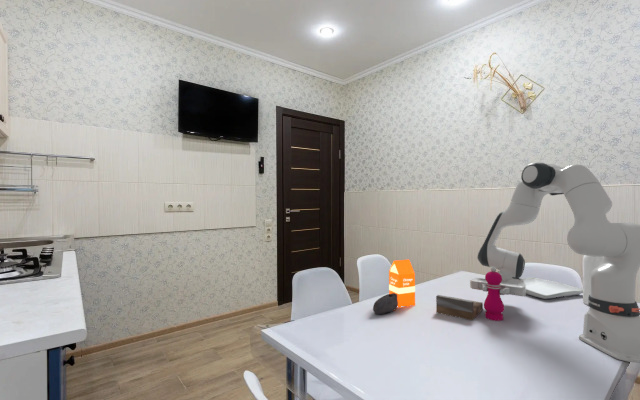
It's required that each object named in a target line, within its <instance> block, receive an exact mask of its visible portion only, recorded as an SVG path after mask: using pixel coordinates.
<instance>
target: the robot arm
mask: <svg viewBox="0 0 640 400" xmlns="http://www.w3.org/2000/svg"><path fill="white" fill-rule="evenodd" d="M520 179H521V180H520V181H519V182H518V183H517V185H516V187H515V188H514V192H513V194H512V196H511V199H510V203H509V206H508V207H507V208H506V210H504V211H501V212H500V213H498V214H497V215H496V218H495V219H494V221H493V223H492V226H491V228H490V229H489V231H488V233H487V236H486V238H485V240H484V242H483V243H482V246H481V247H480V248H479V250H478V253H477V260H478V262H479V263H480V265H482V266H483V267H488V268H495V269H496V270H498V271H497V272H498V273H499V274H500V275H501V276H502V282H501V283H500V285H501V288H500V291H499V292H500V296H507V295H508V296H509V295H510V296H511V295H512V296H516V297H527V294H526V285H525V283H524V280H523V279H521V277H522V276H523V273H524V271H525V265H526V261H525V259H524V256H523V255H522V254H521V253H520V252H516V251H514V250H513V251H512V250H510V249H509V250H508V249H504V248H502V247H499V246H496V242H497V240H498V239H499V236H500V234H501V232H502V230H503V229H504V228H506V227H513V226H521V225H522V226H525V225H528V224H531V223H532V222H534V221H535V220H536V219H537V217H538V215H539V213H540V208H541V205H542V201H543V199H544V198H545V196H546V195H550V196H558V195H563V196H564V198H565V199H566V201H567V203H568V205H569V207H570V210H571V211H572V213H573V218H574V223H573V226H572V227H570V229H569V231H568V233H567V236H566V241H567V245H568V247H569V249H571V251H572V252H573V253H575V254H577V255H582V256H584V255H586V256H592V257H603V261H602V262H601V264H600V265H599V266H598V267H596V268H595V269H593V270H592V271H591V273H590V295H589V297H588V305H587V306H588V307H589V308H588V310H587V311H586V312H585V313H584V317H583V330H582V334H579V335H578V339H579V340H581V341H582V342H584V343H586V344H588V345H589V346H591V347H593V348H595V349H597V350H599V351H601V352H603V353H605V354H607V355H609V356H610V357H611V358H612V357H613V358H614V359H616V360H620V361H624V362H630V363H635V364H640V307H639V305H638V302H637V301H636V280H637V276H638V275H637V274H638V272H639V270H640V223H639V224H638V223H633V222H611V221H609V220H608V217H607V214H608V213H609V212H610V210H611V209H612V207H613V202H612V200H611V198H610V197H609V194H608V193H607V192H606V190H605V188H604V187H603V185H602V183H601V182H600V181H599V179H598V178H597V176H596V175H595V174H594V173H593V172H592V171H591V170H590V169H589V168H588V167H587V166H585V165H583V164H571V165H567V166H566V167H563V166H560V165H556V164H550V163H544V162H540V161H539V162H531V163H528V164H527V165H526V166H525V167H524V168H523V169H522V171H521V178H520ZM469 282H470V283H469V285H470V289H472V290H477V291H478V290H479V291H482V292H487V293H488V287H487V281H486V280H485V278H483V277H481V278H480V277H475V278H471V280H469Z"/></svg>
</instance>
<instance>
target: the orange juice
mask: <svg viewBox="0 0 640 400" xmlns="http://www.w3.org/2000/svg"><path fill="white" fill-rule="evenodd" d="M415 277H416V273H415V270H414V268H413V266H412V262H411V261H410V259H402V260H401V259H399V260H397V259H396V260H393V262H392V264H391V266H390V268H389V271H388V292H389V293H388V294H392V293H395V294H397V301H398V307H397V308H399V307H400V308H402V307H401V306H407V307H411V306H410V305H413V306H416V278H415Z"/></svg>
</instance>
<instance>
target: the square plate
mask: <svg viewBox="0 0 640 400" xmlns="http://www.w3.org/2000/svg"><path fill="white" fill-rule="evenodd" d="M520 279H523V280H524V283H525V285H526V295H529V296H533V297H535V298H540V299H543V300H547V299H554V298H556V297H557V298H562V297H563V296H564V297H570V296H576V295H580V294H583V288H579V287H576V286H572V285H569V284H566V283H565V284H564V283H563V282H559V281H558V282H557V281H552V280H548V279H543V278H538V277H523V278H521V277H520ZM557 298H556V299H557Z"/></svg>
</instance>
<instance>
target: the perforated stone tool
mask: <svg viewBox="0 0 640 400" xmlns="http://www.w3.org/2000/svg"><path fill="white" fill-rule="evenodd" d="M397 306H398V301H397V294H395V293H392V294H389V293H388V294H386V295H382V296H381V297H380V298H378V299H377V300H376V301H375V302H374V304H373V307H372V309H373V312H374V314H375V315H384V314H388V313H391V312H393V311H395V310H397V309H398V307H397ZM394 309H395V310H394ZM390 311H391V312H390ZM387 312H388V313H387Z"/></svg>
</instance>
